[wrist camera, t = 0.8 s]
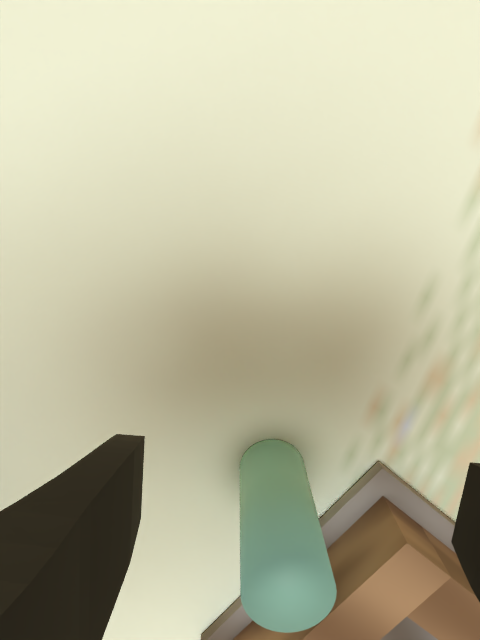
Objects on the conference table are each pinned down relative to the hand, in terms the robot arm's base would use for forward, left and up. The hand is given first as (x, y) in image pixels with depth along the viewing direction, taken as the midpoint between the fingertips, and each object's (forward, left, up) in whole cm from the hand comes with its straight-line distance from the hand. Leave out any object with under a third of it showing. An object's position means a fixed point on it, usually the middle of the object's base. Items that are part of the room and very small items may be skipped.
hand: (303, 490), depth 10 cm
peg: (-4, -4, -10) cm, 11 cm away
